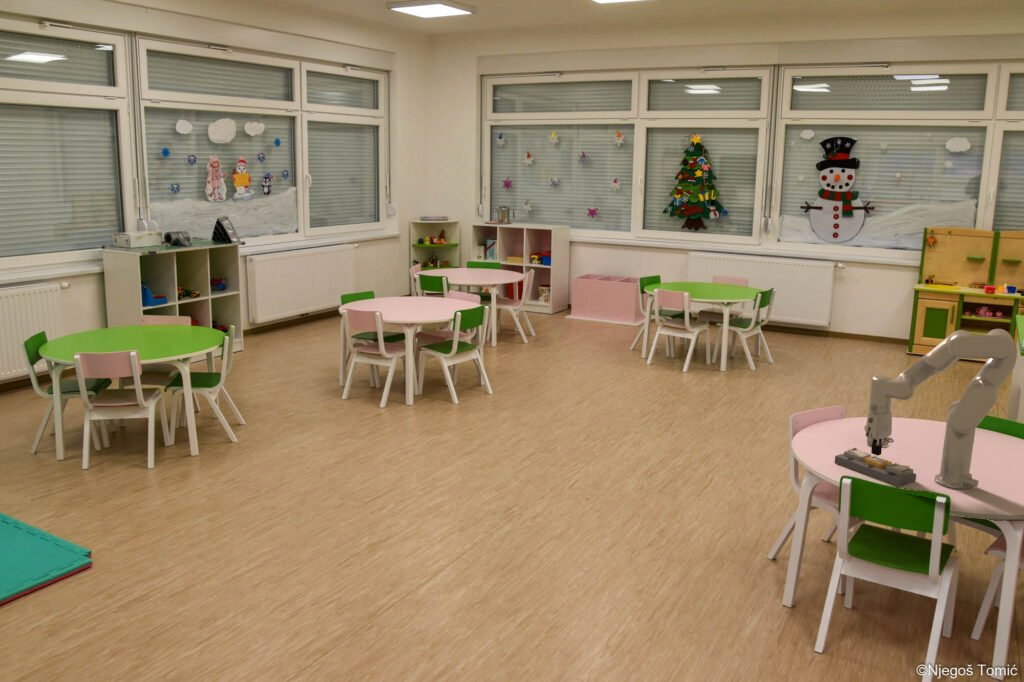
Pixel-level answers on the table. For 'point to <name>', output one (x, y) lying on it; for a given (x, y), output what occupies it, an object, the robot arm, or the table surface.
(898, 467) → the rocker
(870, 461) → the rocker switch panel
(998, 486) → the table surface
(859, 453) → the rocker
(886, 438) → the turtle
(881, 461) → the rocker middle
